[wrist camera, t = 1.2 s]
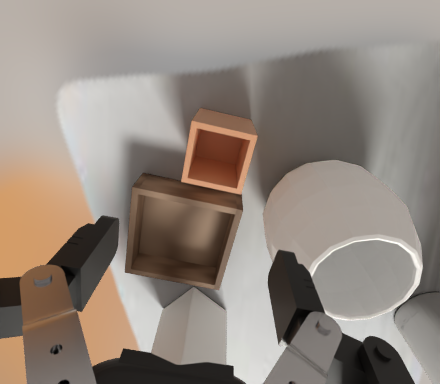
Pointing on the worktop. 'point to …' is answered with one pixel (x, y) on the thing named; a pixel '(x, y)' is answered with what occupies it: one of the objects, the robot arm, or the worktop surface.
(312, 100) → the worktop surface
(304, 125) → the worktop surface
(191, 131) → the terracotta crate
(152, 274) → the walnut crate
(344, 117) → the worktop surface
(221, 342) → the milk carton
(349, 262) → the white round vase
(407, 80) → the worktop surface
